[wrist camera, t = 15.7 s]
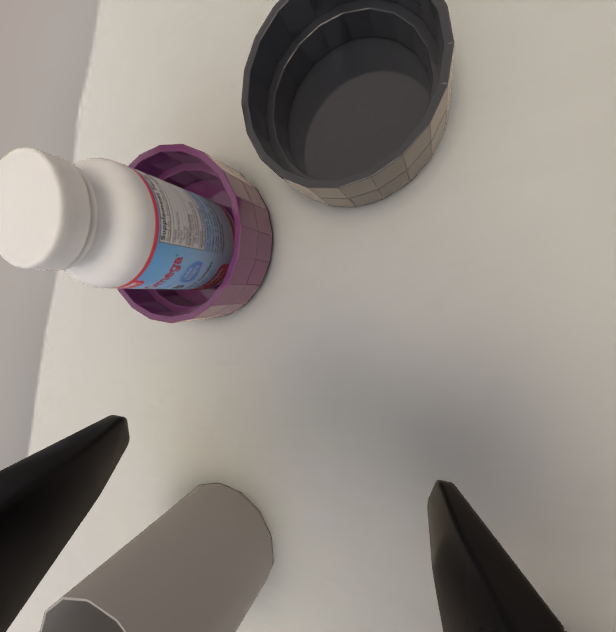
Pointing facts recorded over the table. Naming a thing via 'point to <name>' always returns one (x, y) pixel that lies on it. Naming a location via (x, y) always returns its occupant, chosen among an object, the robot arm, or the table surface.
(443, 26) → the charcoal bowl
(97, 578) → the cup
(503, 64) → the table surface
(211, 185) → the plum bowl
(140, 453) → the table surface
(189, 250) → the pill bottle
